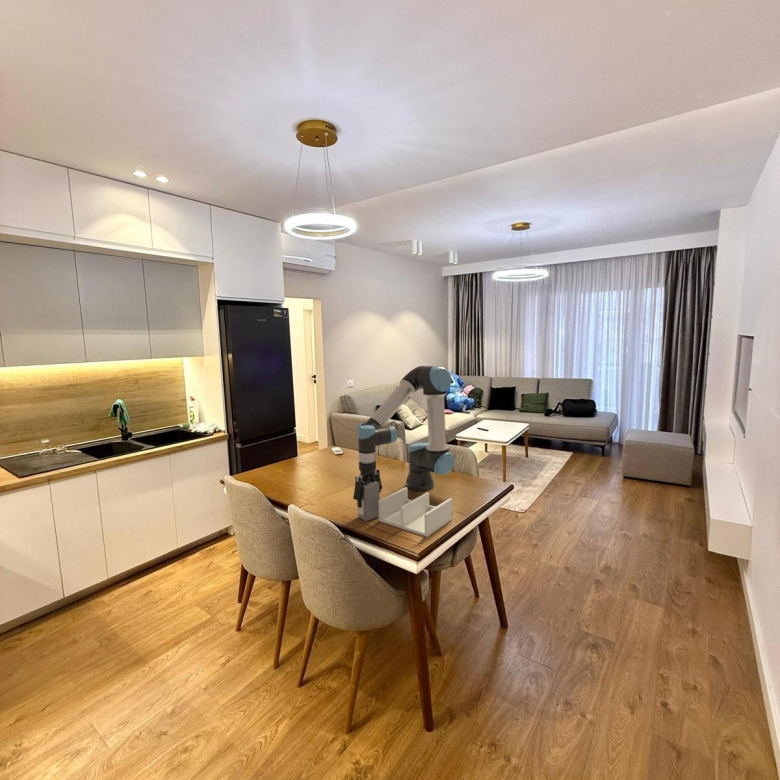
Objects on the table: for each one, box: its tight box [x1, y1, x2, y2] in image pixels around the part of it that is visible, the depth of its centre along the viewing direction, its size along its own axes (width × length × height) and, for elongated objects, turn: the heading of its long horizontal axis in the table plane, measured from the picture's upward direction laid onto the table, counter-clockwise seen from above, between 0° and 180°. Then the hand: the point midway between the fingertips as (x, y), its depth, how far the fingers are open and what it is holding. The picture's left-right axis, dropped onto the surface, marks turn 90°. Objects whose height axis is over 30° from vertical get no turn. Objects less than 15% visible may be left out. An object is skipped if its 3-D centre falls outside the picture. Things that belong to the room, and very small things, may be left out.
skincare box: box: [357, 481, 381, 522], centre depth 181 cm, size 8×7×16 cm
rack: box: [378, 486, 453, 538], centre depth 176 cm, size 20×25×9 cm
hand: (368, 509), depth 181 cm, fingers closed on skincare box, 9 cm apart
